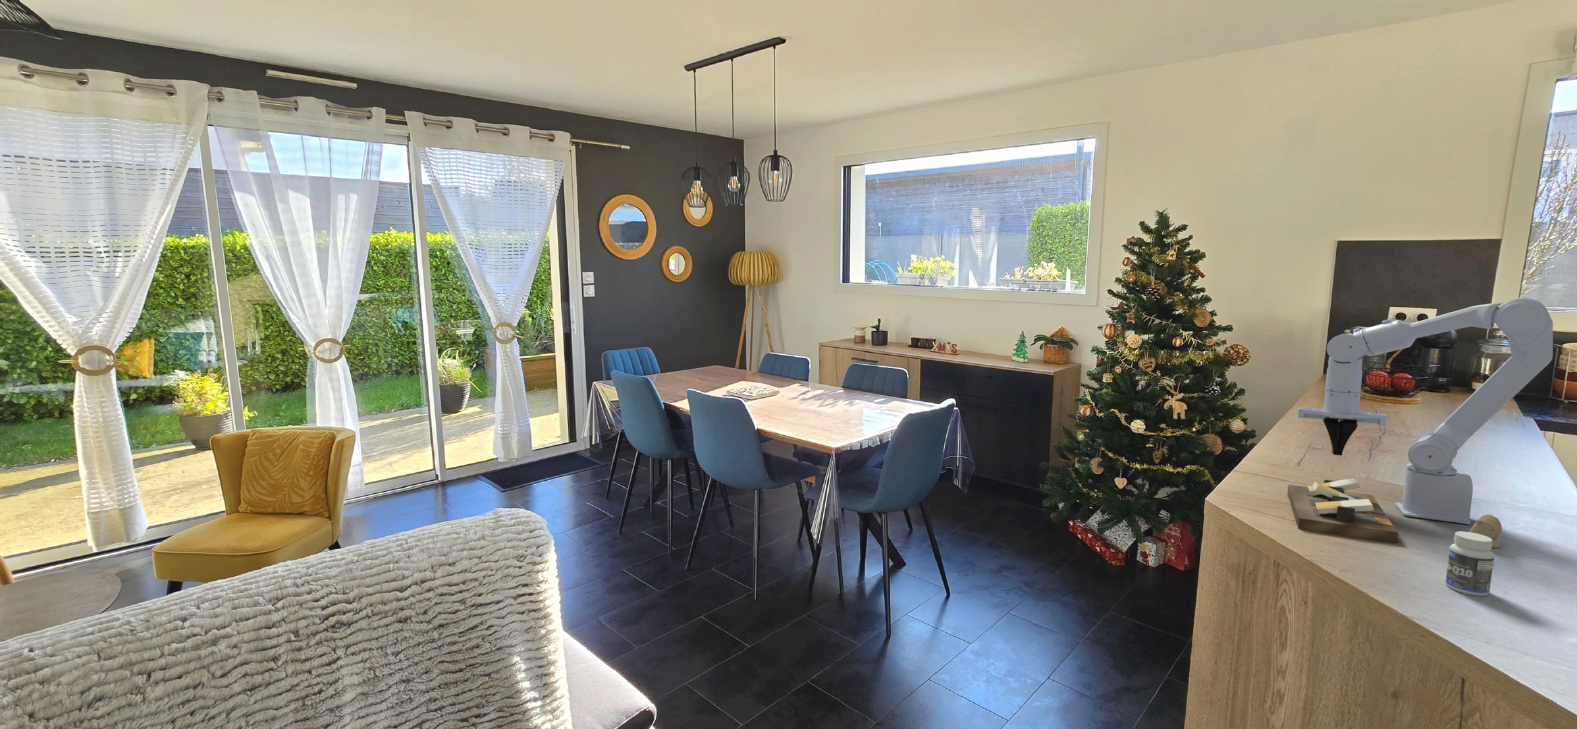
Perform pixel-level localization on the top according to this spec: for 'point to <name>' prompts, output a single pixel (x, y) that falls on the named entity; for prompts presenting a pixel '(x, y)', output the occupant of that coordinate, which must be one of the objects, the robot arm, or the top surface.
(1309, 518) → the switch panel
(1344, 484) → the block
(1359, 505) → the rocker near
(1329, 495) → the rocker middle
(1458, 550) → the pill bottle
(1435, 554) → the top surface
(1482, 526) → the decorative ornament
